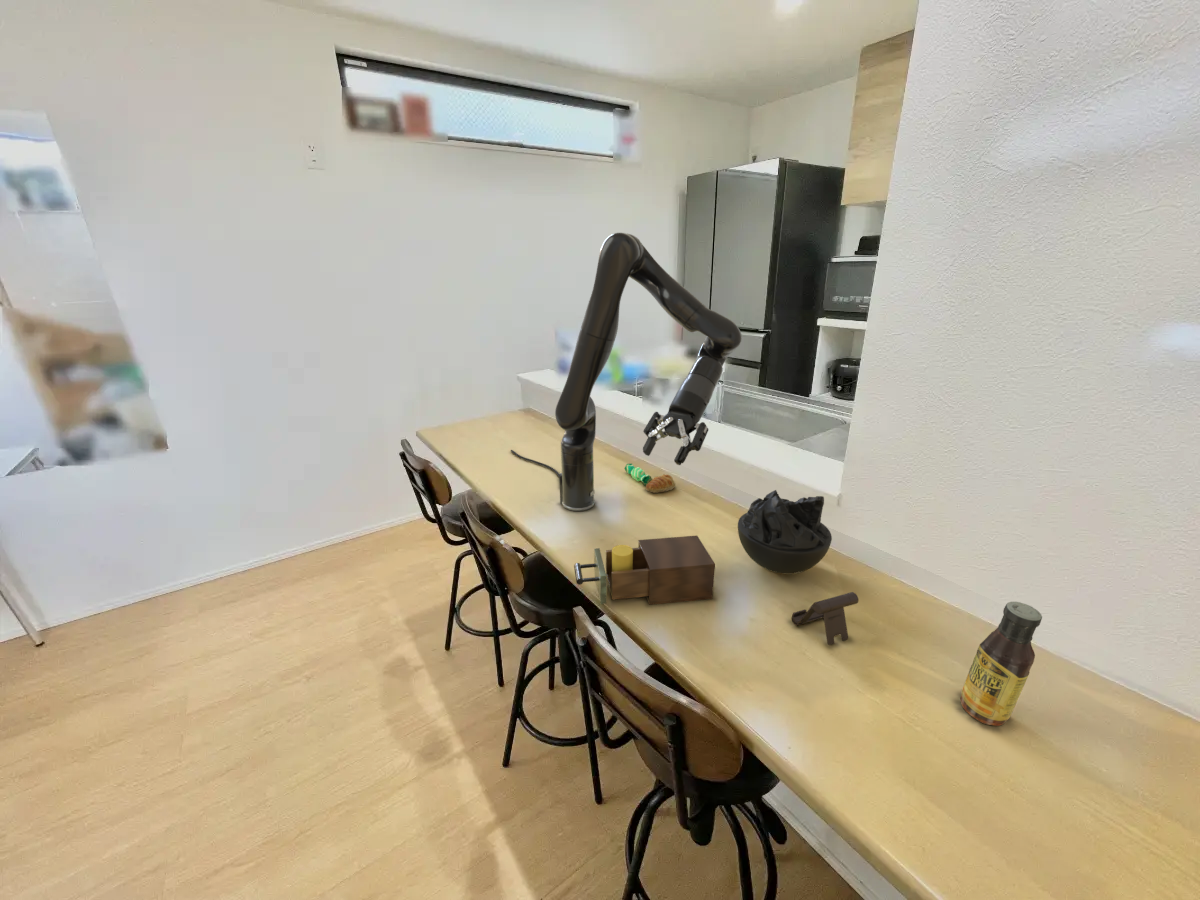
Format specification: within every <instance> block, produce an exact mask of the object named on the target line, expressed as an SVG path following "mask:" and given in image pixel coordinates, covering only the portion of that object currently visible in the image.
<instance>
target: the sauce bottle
mask: <svg viewBox="0 0 1200 900" xmlns="http://www.w3.org/2000/svg"><path fill="white" fill-rule="evenodd" d="M1002 612H1003V615H1002V618H1001V620H1000V623H999V624H998V626H997V627H996V628H995V629H994V630H993V631H992V632H991V633H989V634H988V636H986V637H985V639H983V640H982V642H980V643H979V646H978V648H977V650H976V653H975V656H974V658H973V661H972V663H971V665H970V668H969V671H968V673H967V676H966V679H965V682H964V683H963V686H962V689H961V695H960V704H961V707H962V709H963V710H964V711H965V712H966V713H968V714H969V716H971V717H972V718H974V719H975V720H977V721H978V722H980V723H982V724H984V725H990V726H993V727H995V726H996V727H999V726H1002V725H1004V724H1005V723H1006V722H1007V721H1008V720H1009V719H1010V718H1011V716H1012V713H1013V711H1014V709H1015V707H1016V704H1017V702H1018V700H1019V698H1020V696H1021V693H1022V691H1023V689H1024V686H1025V684H1026V682H1027V680H1028V677H1029V676H1030V671H1031V668H1032V666H1033V664H1034V662H1035V659H1036V654H1035V651H1034V649H1033V645H1032V640H1033V638H1034V637H1033V636H1034V634H1035V632H1036V630H1037V628H1038V627H1039V626H1040V625H1041V622H1042V620H1043V616H1042V613H1040V611H1038V609H1036V608H1035V607H1033V606H1032V605H1029V604H1027V603H1023V602H1021V601H1009V602H1007V603H1006V604H1005V606H1004V608H1003V610H1002Z"/></svg>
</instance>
